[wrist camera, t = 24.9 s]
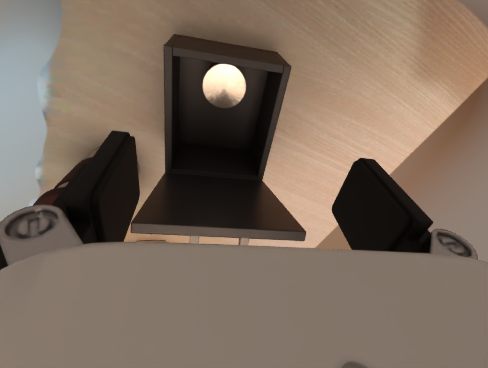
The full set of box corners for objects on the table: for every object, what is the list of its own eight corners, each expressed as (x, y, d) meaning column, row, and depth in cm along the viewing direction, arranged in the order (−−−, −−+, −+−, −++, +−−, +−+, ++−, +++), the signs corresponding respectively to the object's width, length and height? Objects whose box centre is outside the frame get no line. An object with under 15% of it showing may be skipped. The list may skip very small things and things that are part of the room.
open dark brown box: (174, 33, 30) (163, 45, 24) (277, 52, 32) (291, 66, 26) (173, 144, 39) (165, 173, 32) (254, 152, 41) (261, 181, 35)
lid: (130, 222, 17) (129, 291, 19) (306, 231, 19) (294, 293, 21) (164, 172, 32) (162, 212, 33) (262, 180, 34) (257, 218, 35)
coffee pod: (205, 53, 31) (204, 60, 28) (246, 59, 32) (249, 67, 29) (202, 94, 34) (201, 105, 31) (239, 99, 35) (242, 110, 32)
